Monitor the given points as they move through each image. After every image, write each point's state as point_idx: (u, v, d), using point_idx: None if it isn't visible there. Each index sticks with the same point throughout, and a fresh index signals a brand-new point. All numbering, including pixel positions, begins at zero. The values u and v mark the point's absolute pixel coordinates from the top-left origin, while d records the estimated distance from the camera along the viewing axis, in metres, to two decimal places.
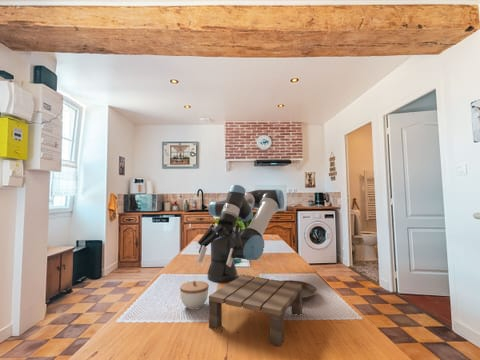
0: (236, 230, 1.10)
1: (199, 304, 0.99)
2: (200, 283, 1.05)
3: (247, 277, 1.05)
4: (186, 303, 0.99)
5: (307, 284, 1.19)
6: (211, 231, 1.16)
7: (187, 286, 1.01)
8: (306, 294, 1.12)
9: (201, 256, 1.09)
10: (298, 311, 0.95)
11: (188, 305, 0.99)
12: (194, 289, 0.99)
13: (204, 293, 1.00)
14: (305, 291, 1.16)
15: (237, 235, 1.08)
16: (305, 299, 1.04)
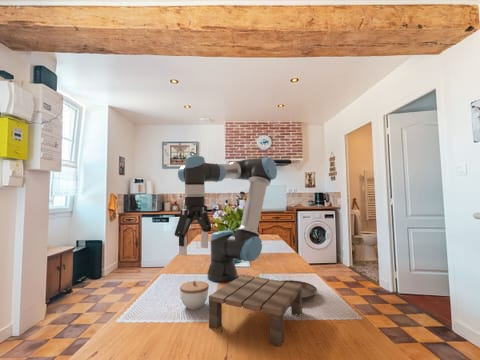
0: None
1: (199, 304, 0.99)
2: (200, 283, 1.05)
3: (247, 277, 1.05)
4: (186, 303, 0.99)
5: (307, 284, 1.19)
6: (203, 214, 1.10)
7: (187, 286, 1.01)
8: (306, 294, 1.12)
9: (203, 242, 1.10)
10: (298, 311, 0.95)
11: (188, 305, 0.99)
12: (194, 289, 0.99)
13: (204, 293, 1.00)
14: (305, 291, 1.16)
15: None
16: (305, 299, 1.04)
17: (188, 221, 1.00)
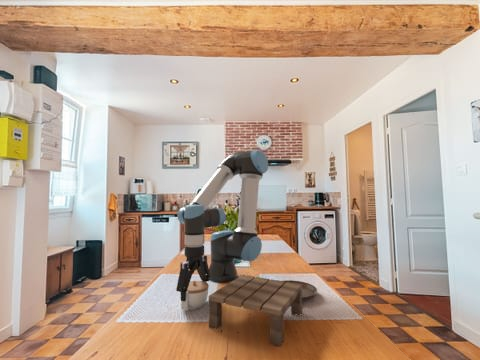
0: None
1: (199, 304, 0.99)
2: (200, 282, 1.05)
3: (247, 277, 1.05)
4: None
5: (307, 284, 1.19)
6: (202, 262, 1.09)
7: None
8: (306, 294, 1.12)
9: None
10: (298, 311, 0.95)
11: None
12: (194, 288, 0.99)
13: (204, 293, 1.00)
14: (305, 291, 1.16)
15: None
16: (305, 299, 1.04)
17: (189, 274, 0.99)
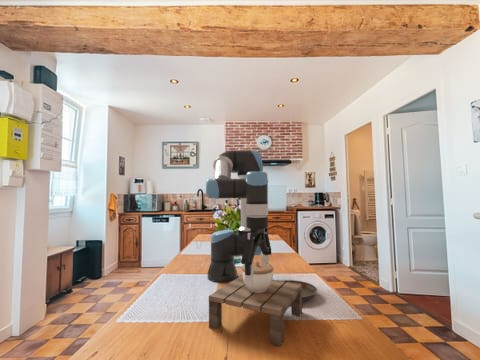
0: None
1: (266, 287, 0.89)
2: (262, 264, 0.95)
3: None
4: None
5: (307, 284, 1.19)
6: None
7: None
8: (306, 294, 1.12)
9: None
10: (298, 311, 0.95)
11: (254, 288, 0.88)
12: (260, 269, 0.88)
13: (271, 274, 0.90)
14: (305, 291, 1.16)
15: None
16: (305, 299, 1.04)
17: (253, 246, 0.88)
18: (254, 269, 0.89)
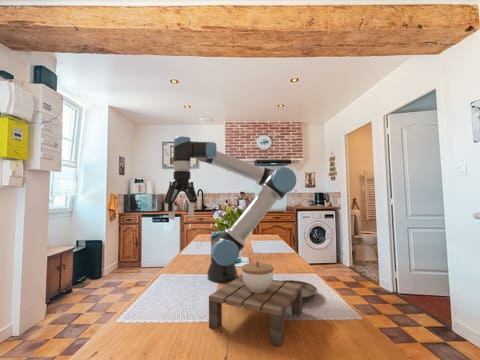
0: None
1: (266, 287, 0.89)
2: (262, 264, 0.95)
3: None
4: (251, 285, 0.88)
5: (307, 284, 1.19)
6: (189, 187, 1.28)
7: (250, 267, 0.91)
8: (306, 294, 1.12)
9: (190, 211, 1.28)
10: (298, 311, 0.95)
11: (254, 288, 0.88)
12: (260, 269, 0.88)
13: (271, 274, 0.90)
14: (305, 291, 1.16)
15: None
16: (305, 299, 1.04)
17: (176, 191, 1.18)
18: (254, 269, 0.89)
